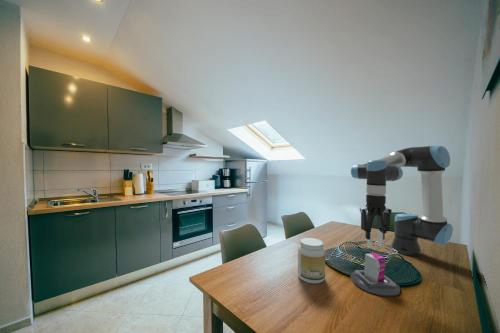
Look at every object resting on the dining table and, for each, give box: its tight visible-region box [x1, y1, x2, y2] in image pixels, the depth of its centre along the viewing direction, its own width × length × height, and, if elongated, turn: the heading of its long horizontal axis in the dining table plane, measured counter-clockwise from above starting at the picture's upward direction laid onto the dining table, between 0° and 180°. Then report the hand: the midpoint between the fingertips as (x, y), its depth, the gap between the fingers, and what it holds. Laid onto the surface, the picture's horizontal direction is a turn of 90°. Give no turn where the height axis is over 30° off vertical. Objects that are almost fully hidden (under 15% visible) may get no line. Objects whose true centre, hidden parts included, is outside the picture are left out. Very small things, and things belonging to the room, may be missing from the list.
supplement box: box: [364, 252, 386, 282], centre depth 93 cm, size 6×6×12 cm
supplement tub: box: [297, 237, 326, 284], centre depth 97 cm, size 12×12×17 cm
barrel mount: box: [350, 269, 401, 298], centre depth 93 cm, size 19×19×3 cm
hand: (374, 246), depth 93 cm, fingers open, 4 cm apart
